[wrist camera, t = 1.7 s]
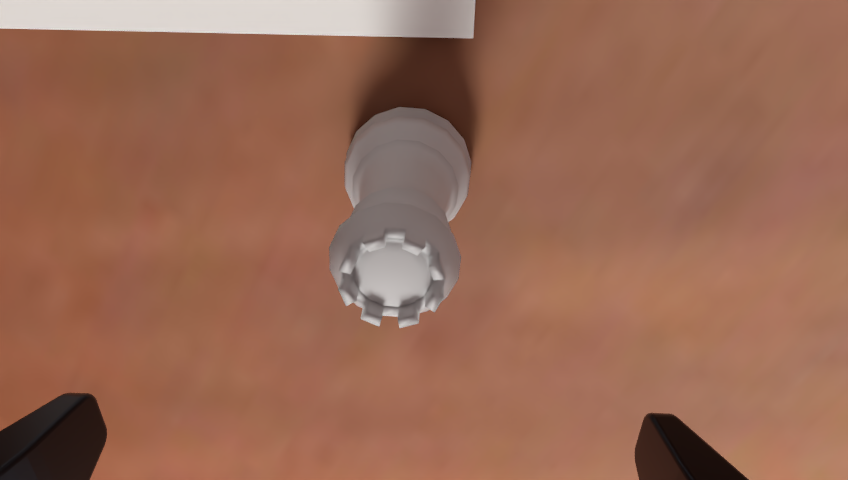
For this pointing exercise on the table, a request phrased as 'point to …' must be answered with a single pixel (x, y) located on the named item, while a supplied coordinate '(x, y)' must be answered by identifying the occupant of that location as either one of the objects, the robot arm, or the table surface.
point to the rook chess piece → (401, 215)
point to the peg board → (249, 16)
